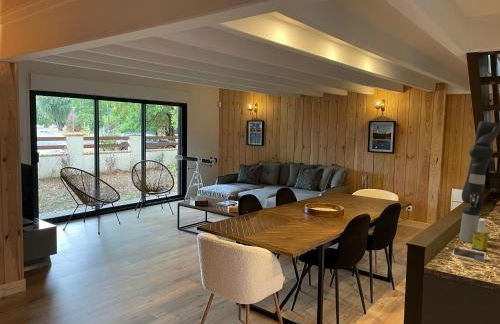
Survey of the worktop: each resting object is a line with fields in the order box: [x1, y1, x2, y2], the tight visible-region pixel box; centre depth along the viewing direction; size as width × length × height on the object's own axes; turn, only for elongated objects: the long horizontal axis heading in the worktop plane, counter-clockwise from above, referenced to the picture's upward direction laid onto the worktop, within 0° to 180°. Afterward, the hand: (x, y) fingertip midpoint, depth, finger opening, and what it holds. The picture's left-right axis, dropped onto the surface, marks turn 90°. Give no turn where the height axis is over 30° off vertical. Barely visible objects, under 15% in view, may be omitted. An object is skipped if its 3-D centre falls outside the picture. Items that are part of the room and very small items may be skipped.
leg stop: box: [473, 254, 484, 263], centre depth 192 cm, size 2×4×2 cm, turn 56°
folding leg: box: [453, 246, 484, 258], centre depth 197 cm, size 14×2×4 cm, turn 61°
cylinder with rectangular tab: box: [478, 217, 490, 233], centre depth 246 cm, size 9×9×12 cm
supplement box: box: [471, 230, 490, 252], centre depth 217 cm, size 6×6×11 cm
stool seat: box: [451, 245, 487, 263], centre depth 203 cm, size 21×15×2 cm
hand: (472, 213), depth 206 cm, fingers closed
